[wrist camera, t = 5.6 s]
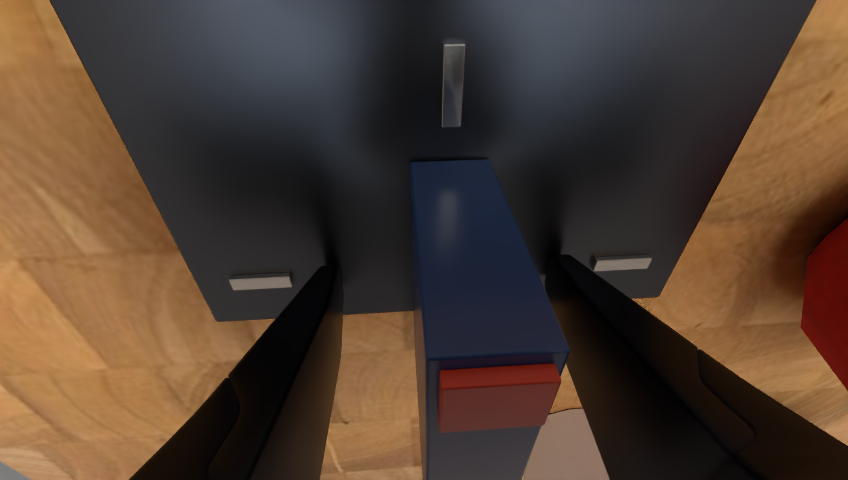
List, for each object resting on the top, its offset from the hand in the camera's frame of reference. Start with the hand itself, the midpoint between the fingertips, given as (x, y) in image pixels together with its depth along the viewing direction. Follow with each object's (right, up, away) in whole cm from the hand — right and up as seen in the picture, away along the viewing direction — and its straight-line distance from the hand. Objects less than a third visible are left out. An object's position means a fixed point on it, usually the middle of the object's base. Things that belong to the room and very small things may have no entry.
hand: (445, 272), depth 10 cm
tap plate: (0, +3, +2) cm, 3 cm away
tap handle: (0, 0, 0) cm, 0 cm away
